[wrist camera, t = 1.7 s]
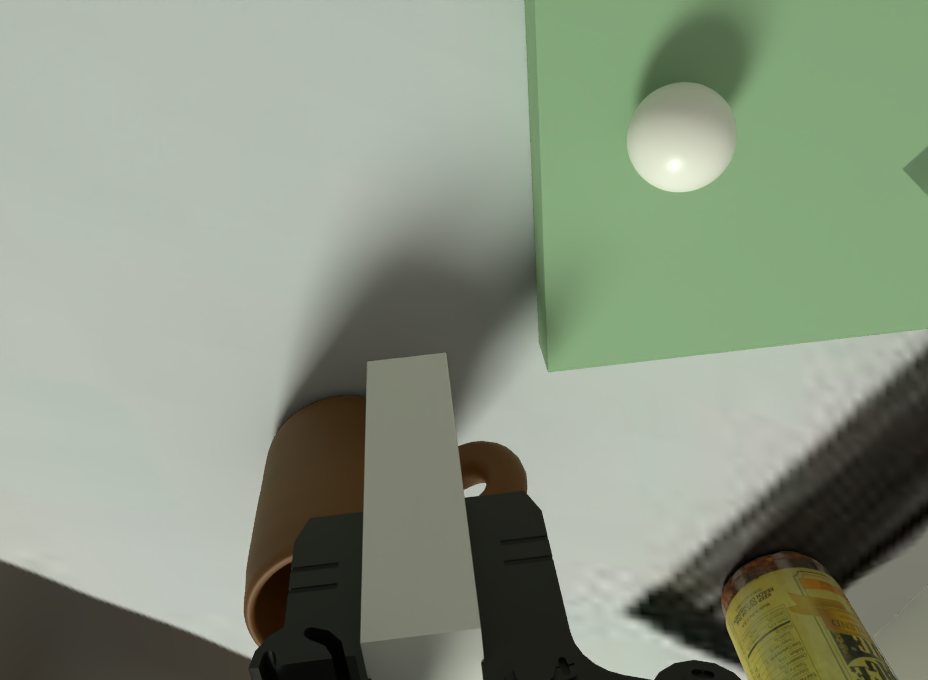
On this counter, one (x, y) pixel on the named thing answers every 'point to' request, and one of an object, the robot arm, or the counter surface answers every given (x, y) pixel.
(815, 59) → the green
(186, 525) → the counter surface
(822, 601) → the sauce bottle
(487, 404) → the counter surface
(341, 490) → the mug
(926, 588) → the paper towel holder
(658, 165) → the ball
